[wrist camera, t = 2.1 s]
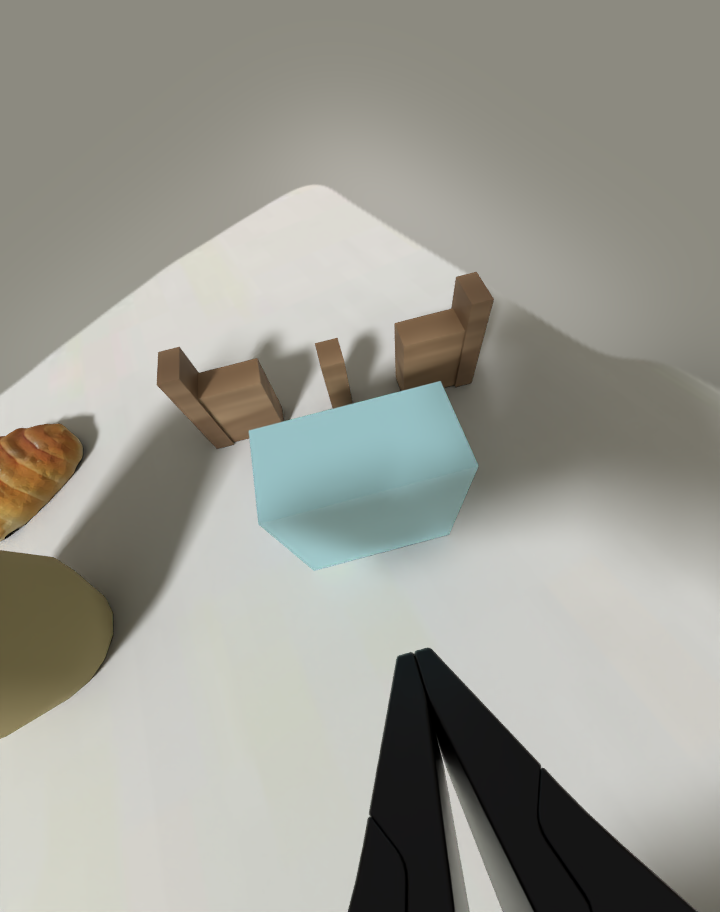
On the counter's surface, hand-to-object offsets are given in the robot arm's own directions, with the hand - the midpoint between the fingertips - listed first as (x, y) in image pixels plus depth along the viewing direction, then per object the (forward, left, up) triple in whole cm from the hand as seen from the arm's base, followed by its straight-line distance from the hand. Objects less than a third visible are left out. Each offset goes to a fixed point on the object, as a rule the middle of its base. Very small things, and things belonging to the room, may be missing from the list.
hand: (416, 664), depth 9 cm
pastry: (-6, +28, -11) cm, 31 cm away
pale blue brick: (+7, +7, -11) cm, 14 cm away
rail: (+11, +11, -11) cm, 19 cm away
